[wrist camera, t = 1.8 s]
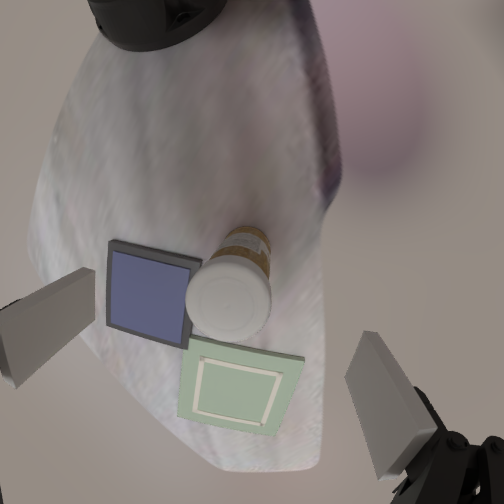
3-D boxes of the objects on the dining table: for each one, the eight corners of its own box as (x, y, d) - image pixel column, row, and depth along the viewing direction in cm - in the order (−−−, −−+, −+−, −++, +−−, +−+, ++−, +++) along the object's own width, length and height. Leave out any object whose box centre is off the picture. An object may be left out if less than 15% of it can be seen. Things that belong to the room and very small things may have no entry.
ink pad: (113, 239, 28) (107, 241, 27) (202, 260, 28) (199, 263, 27) (110, 321, 31) (105, 326, 29) (189, 345, 31) (186, 351, 29)
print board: (186, 333, 30) (184, 337, 29) (304, 357, 30) (305, 362, 29) (178, 412, 33) (176, 417, 32) (275, 432, 33) (275, 437, 32)
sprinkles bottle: (264, 277, 28) (259, 353, 15) (218, 265, 28) (177, 332, 15) (276, 231, 27) (282, 276, 14) (228, 219, 27) (190, 253, 14)
